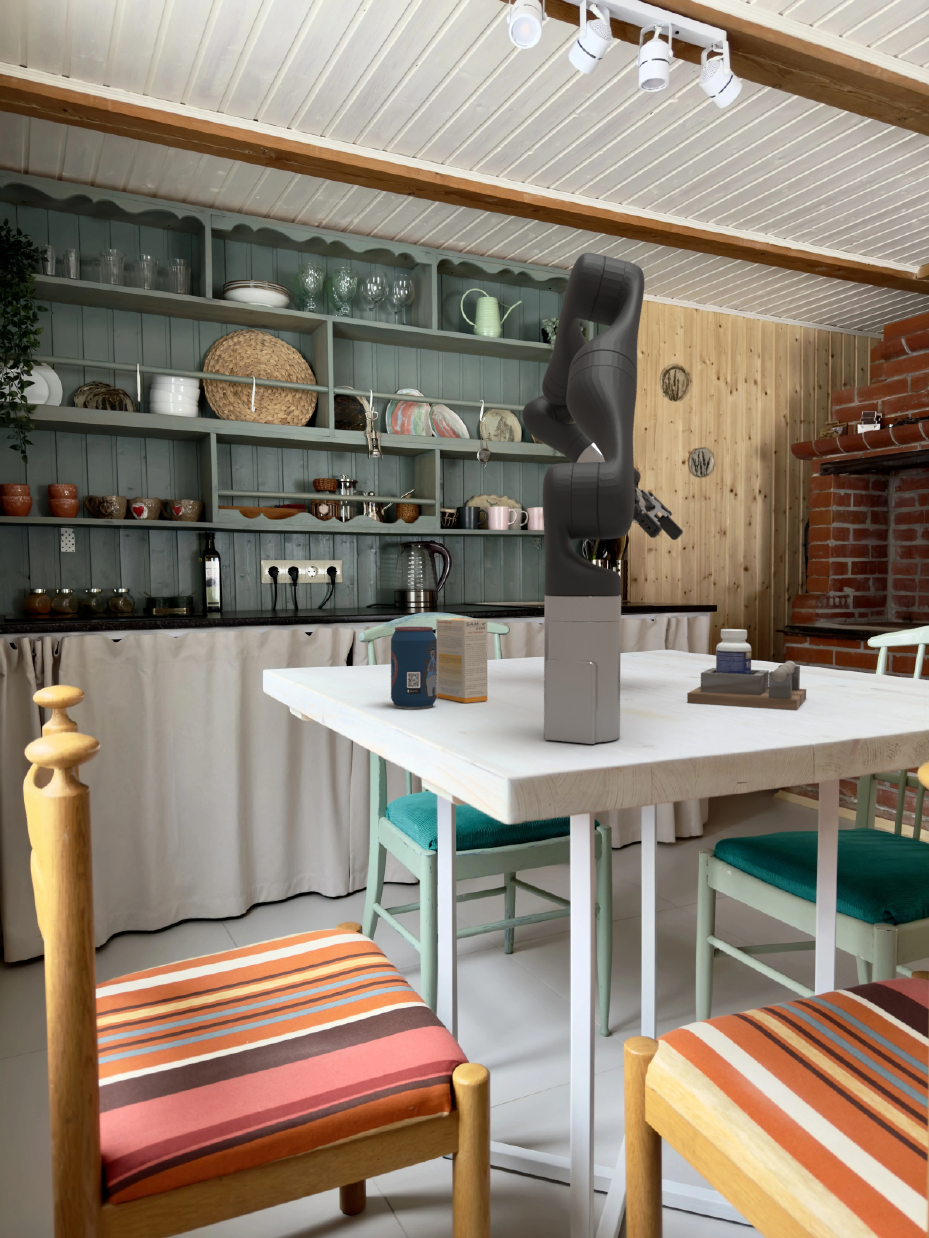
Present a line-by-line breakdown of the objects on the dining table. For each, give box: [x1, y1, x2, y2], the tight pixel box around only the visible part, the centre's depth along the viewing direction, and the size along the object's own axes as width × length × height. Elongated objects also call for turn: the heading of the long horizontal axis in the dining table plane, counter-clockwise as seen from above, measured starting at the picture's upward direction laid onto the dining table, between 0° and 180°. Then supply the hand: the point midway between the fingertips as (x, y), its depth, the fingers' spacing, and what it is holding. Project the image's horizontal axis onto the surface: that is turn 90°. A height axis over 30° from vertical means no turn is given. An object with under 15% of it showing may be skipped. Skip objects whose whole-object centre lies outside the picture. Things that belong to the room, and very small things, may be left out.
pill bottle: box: [715, 628, 752, 675], centre depth 135 cm, size 5×5×10 cm
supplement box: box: [435, 617, 488, 704], centre depth 135 cm, size 8×5×13 cm, turn 35°
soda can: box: [390, 626, 437, 710], centre depth 128 cm, size 7×7×12 cm
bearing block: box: [686, 660, 807, 711], centre depth 134 cm, size 14×16×6 cm
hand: (668, 535), depth 141 cm, fingers open, 8 cm apart
